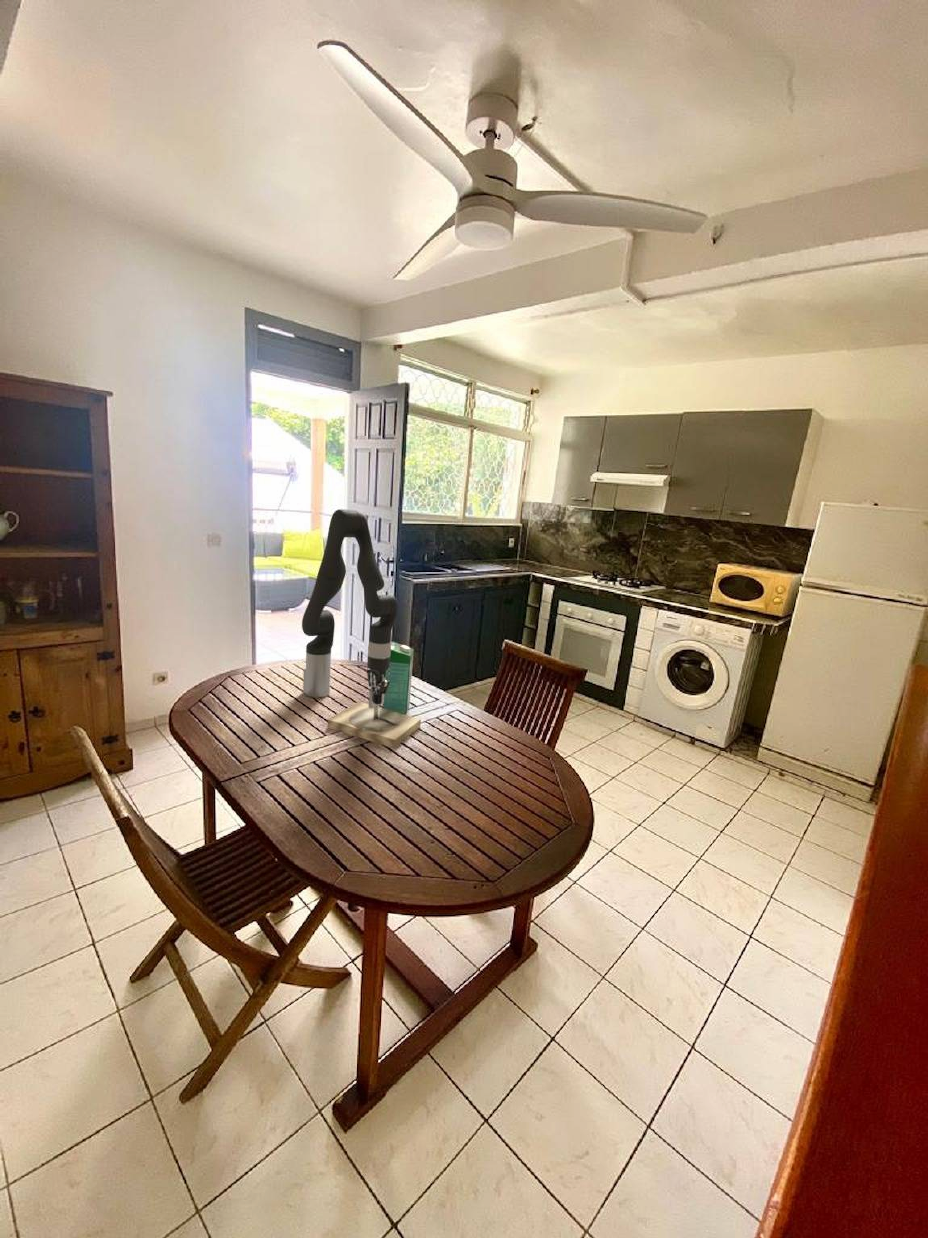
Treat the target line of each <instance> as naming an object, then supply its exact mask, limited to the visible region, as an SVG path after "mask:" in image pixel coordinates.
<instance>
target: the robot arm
mask: <svg viewBox="0 0 928 1238" xmlns="http://www.w3.org/2000/svg"><path fill="white" fill-rule="evenodd" d="M370 532H371V531H370V528H369V525H368V521H367V518H366V515H365V514H364V513H363V512H362V511H360V510H357V509H340V508H339V509H336V510H335V511H334V512H333V513H332V516H331V519H330V522H329V527H328V532H327V538H326V543H325V547H324V551H323V556H322V559H321V563H320V566H319V569H318V571H317V576H316V580H315V584H314V587H313V590H312V593H311V596H310V599H309V601H308V604H307V605H306V608H305V611H304V613H303V616H302V621H301V629H302V631H303V634H305V636H308V637H315V638H314V639H312V640H310V641H309V642H308V643H307V644H306V646H305V652H306V653H305V668H304V669H303V675H302V677H303V682H302V683H303V684H302V693H303V694H305V695H306V696H307V697H310V698H316V699H317V698H324V697H327V696H329V695H330V693H331V690H330V689H331V668H332V667H331V659H332V648H333V646H334V637H335V627H336V626H335V625H336V624H335V617H334V615H333V613H332V612H331V611H330V610H328V609H325V607H326V606H327V605H328V604H329V602H331V600H333V598H335V596H336V595H337V594H338V593H339V592H340V590H341V588H342V587H343V584H344V581H345V579H346V578H345V577H346V575H347V567H346V563H345V561H344V558H343V555H342V547H343V546H342V545H343V542H344V539H345V538H350V539H351V538H355V540H356V542H357V544H358V549H359V550H358V551H359V552H358V558H357V562H356V563H357V564H356V565H357V566H356V570H357V574H358V577H359V580H360V582H361V585H362V588H363V595H364V605H365V606H364V607H365V611H366V612H367V614H368V615H369V616H370V617H371V618H374V619H377V618H379V620H377V621H376V622H374V623H372V624H371V625H370V627H369V628H370V629H369V637H368V638H369V639H368V640H369V642H368V647H367V660H366V661H367V663H366V666H367V668H368V669H366V674H367V675H366V676H367V681H368V687H370V690H373V689H375V693H376V694H375V704H381V703H382V694H386V691H387V689H388V686H389V681H386V679H385V678H386V672H385V671H386V670H387V669H389V667H390V656H391V641H392V631H393V628H394V624H395V621H396V618H397V615H398V612H399V602H398V600H397V598H396V596H395V595H392V594H383V595H378V592H379V591H381V590H382V589H384V587H385V582H384V581H385V579H383V575H382V572H381V570H380V568H379V565H378V562H377V559H376V556H375V552H374V547H373V542H372V536H371V533H370ZM378 688H379V690H378ZM381 705H382V704H381Z"/></svg>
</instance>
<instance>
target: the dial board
mask: <svg viewBox="0 0 928 1238" xmlns="http://www.w3.org/2000/svg"><path fill="white" fill-rule="evenodd" d="M378 716H379V717H381V718H383V719H386V720H388V721H390V722H393V723H395V724H396V726H393V725H391V724H389V723H386V722H384V721H382V720H379V719H374V718H373V717H374V708H372V709H371V708H369V703H365V702H361V701H357V702H356V703H355V702H354V703H353V704H351V705H350V706H348V707H347V708H345V709H344V710H342V711H340V712H339V713H336V714H334V715H333V716H332V717H330V718H328V719H327V728H328V729H331V730H334V731H338V732H341V733H345V734H347V735H351V736H354V737H357V738H360V739H364V740H367V741H370V742H371V743H372V742H373V743H376V744H380V745H382V746H386V747H388V748H390V749H395V748H397V747H398V746H400V744H401V743H403V742H404V741H405V740H407V739H408V738H409V737H410V736H411V735H412V734H414V733H415V732H416V731H417V730H419V729H420V728H421V723H422V719H421V718H418V717H415V716H411V715H407V714H403V713H397V712H394V711H391V710H387V709H383V707H379V706H378Z"/></svg>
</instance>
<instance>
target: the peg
mask: <svg viewBox="0 0 928 1238" xmlns="http://www.w3.org/2000/svg"><path fill="white" fill-rule="evenodd" d="M378 690H379V688H378ZM368 694H369V695H368V704H369V708H371V709H372V708H374V717H373V718H374V719H379V720H382V721H384V722H386V723H389V724H391V725H393V726H396V724H395V723H393V722H390V721H388V720H386V719H383V718H381V717H379V716H378V707H379V706H381V705H383V704H384V694H382V703H381V704H375V694H376V693H375V689H373V690H371V689H370V690H369V693H368Z"/></svg>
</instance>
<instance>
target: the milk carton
mask: <svg viewBox="0 0 928 1238" xmlns="http://www.w3.org/2000/svg"><path fill="white" fill-rule="evenodd" d="M414 651H415V649H414V648H412V647H410V646H408V645H405V644H400V643H398V642H396V641H392V640H391V656H390V667H389V669H387V670H386V671H385V672H386V678H385V679H386V681H389V686H388V689H387V691H386V694H384V704H382V708H383V709H387V710H391V711H394V712H397V713H401V714H404V715H407V714H408V710H409V707H410V703H411V702H410V701H411V687H412V676H413V664H414Z"/></svg>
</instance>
